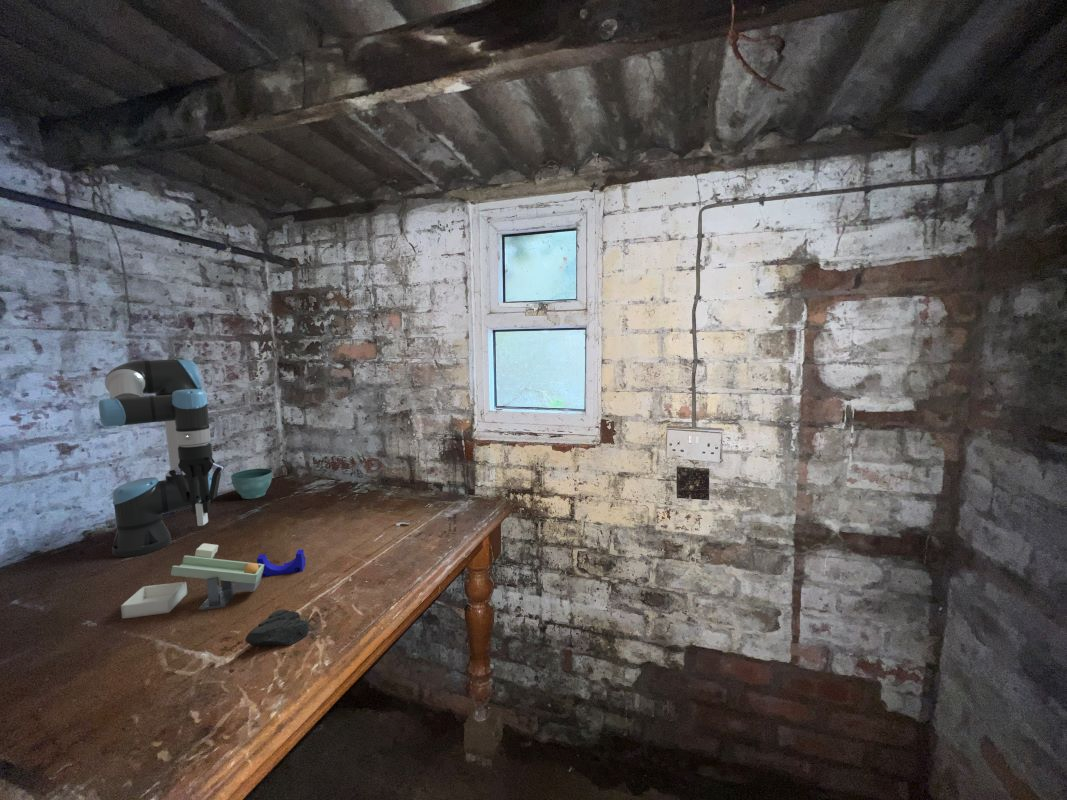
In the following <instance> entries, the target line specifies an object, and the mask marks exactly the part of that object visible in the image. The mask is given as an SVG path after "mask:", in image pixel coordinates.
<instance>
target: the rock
mask: <svg viewBox="0 0 1067 800" xmlns="http://www.w3.org/2000/svg"><path fill="white" fill-rule="evenodd" d="M309 628H310V623H309V622H308V620H305V619H302V620H301V618H300V613H299V612H298V611H294V610H292V611H291V610H288V609H278V610H276V611H273V612H272V613H271V614H270V615H268V617H267V618H266V619H263V621H261V622H260V623H258V625H257V626H255V627H254V628H252V629H251V630H250V631H249V632H248V633H247V635H246V637H245V639H244V640H245V642H246V644H249V645H251V646H253V647H268V646H277V645H282V646H286V645H288V646H292V645H293V644H296V643H297V642H299V641H300V640H302V639H304V638H305V637H306V636H308V633H309Z"/></svg>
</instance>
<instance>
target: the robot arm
mask: <svg viewBox="0 0 1067 800" xmlns="http://www.w3.org/2000/svg"><path fill="white" fill-rule="evenodd" d="M202 384H203V383H202V378H201V376H200V373H199V369H198V366H197V364H196V363H195V362H194V361H193V360H190V359H153V360H151V359H149V360H146V359H145V360H141V359H140V360H139V359H138V360H133V361H129V362H128V361H127V362H126V363H123V364H120V365H117V366H116V367H114V368H113V369H111V370H110V371H109V372H108V373H107V375H106V376H105V379H104V386H105V389H106V390H107V392H108V393H109V398H104V399H100V400H99V402H98V412H99V420H100V424H101V425H102V426H104V427H123V426H130V425H141V424H142V425H143V424H151V423H160V422H161V423H162V422H164V428H165V435H166V444H167V452H168V453H167V454H168V459H169V467H170V468H169V471H167V472H166V473H165V479H164V480H163V479H162V480H159V479H158V477H156V476H154V477H152V476H151V477H144V478H139V479H135V480H131V481H129V482H126V483H123V484H120V485H119V486H117V487H116V488H115V489H114V490H113V492H112V504H113V508H114V516H115V525H116V533H115V537H114V540H113V544H112V546H111V550H112V556H114V557H117V558H129V557H136V556H141V555H145V554H150V553H152V552H155V551H157V550H160V549H163V548H165V547H166V546H168V545H170V543H171V542H172V536H171V532H170V531H169V530H168V528H167V526H166V525H165V522H164V521H163V514H168V513H173V512H179V511H182V510H187V509H192V514H193V515H196V521H197V522H196V523H197V526H198V527H200V526H201V527H202V526H205V525H206V524H207V523H209V517H208V516H209V515H208V513H209V512H211V503H210V502H211V501H213V500H214V499H215V498H217V496H218V491H219V486H220V481H221V475H222V473H223V471H224V469H225V465H223V464H221V465H219V464H218V463H216V462H215V460H214V458H213V448H212V447H213V446H212V443H210V442H211V441H212V438H211V437H212V436H211V428H210V420H209V410H208V409H209V408H208V402H209V401H208V398H207V392H206V390H204V389H203V385H202ZM147 394H148V395H147ZM149 394H150V395H149ZM151 394H155V395H151ZM144 395H147V396H144ZM211 470H212V472H210V471H211Z"/></svg>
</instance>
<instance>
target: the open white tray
mask: <svg viewBox="0 0 1067 800" xmlns="http://www.w3.org/2000/svg"><path fill="white" fill-rule="evenodd" d="M187 594H188V587H187V581H180V582H179V581H177V582H172V583H170V582H169V583H162V584H153V585H147V586H146V585H145V586H142V587H141V588H140V589H138V590H137V591H136V592H134V594H133V595H132V596H131V597H129V598H128V599H126V601H124V602H123V603H122V604H121V605H120V612H121V619H123V620H124V619H130V618H139V617H145V616H152V615H153V616H154V615H162V614H168V613H170V612H171V611H172V610H173V609H174V608H175V607H176V606H177V605H178V604H179V603H180V602H181V601H182V600H183V598H185V597H186V595H187Z"/></svg>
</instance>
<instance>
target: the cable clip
mask: <svg viewBox="0 0 1067 800" xmlns="http://www.w3.org/2000/svg"><path fill="white" fill-rule="evenodd" d="M304 554H305V553H304V549H297V551H296V553H295V557H294V558H293V559H292V560H290V561H288V562H284V563H283V565H276V564H273V563H272V562H270V561H269V559H268V558H267V556H266V555H267V554H265V553H263V554H259V555H258V557H257V558H256V563H257V564H265V565H264V570H263V573H262V576H261V578H265V576H266V577H270V576H271V577H272V575H273V576H280V575H286V574H292V573H293V574H294V573H300V572H303V571H304V569H305V567H306V555H304Z"/></svg>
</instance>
